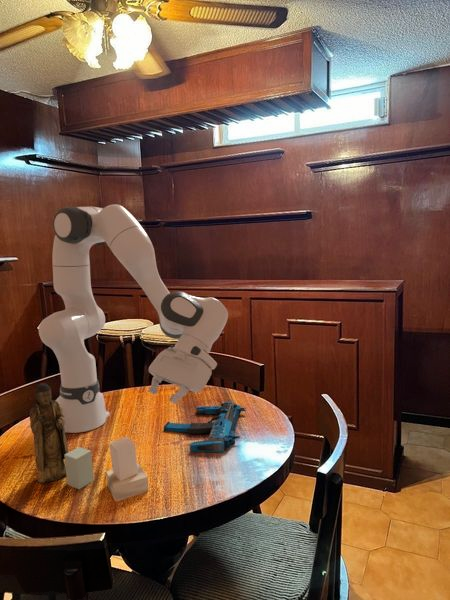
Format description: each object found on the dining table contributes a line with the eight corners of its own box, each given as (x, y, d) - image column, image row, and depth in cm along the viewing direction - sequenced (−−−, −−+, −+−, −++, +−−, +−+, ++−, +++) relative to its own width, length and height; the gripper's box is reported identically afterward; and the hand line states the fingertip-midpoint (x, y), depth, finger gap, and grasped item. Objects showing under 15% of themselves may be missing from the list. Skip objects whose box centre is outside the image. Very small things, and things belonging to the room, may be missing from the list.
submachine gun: (179, 397, 157) (248, 395, 153) (180, 407, 157) (249, 405, 153) (151, 442, 123) (238, 440, 119) (152, 455, 123) (239, 453, 120)
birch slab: (107, 486, 107) (106, 471, 106) (138, 476, 111) (137, 462, 110) (115, 503, 100) (114, 487, 99) (148, 492, 104) (147, 477, 103)
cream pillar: (113, 473, 105) (109, 442, 104) (130, 466, 108) (126, 436, 107) (120, 481, 102) (116, 449, 100) (137, 473, 104) (134, 443, 103)
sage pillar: (67, 484, 108) (64, 454, 107) (81, 475, 112) (79, 446, 110) (79, 489, 106) (76, 459, 104) (93, 480, 109) (91, 450, 108)
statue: (27, 488, 107) (16, 392, 103) (45, 468, 116) (35, 379, 112) (63, 488, 106) (53, 391, 103) (78, 468, 115) (69, 378, 112)
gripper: (160, 339, 121) (132, 382, 116) (207, 352, 106) (177, 401, 101) (174, 352, 125) (147, 393, 119) (221, 365, 110) (193, 414, 104)
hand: (161, 397), depth 110 cm, fingers open, 8 cm apart
